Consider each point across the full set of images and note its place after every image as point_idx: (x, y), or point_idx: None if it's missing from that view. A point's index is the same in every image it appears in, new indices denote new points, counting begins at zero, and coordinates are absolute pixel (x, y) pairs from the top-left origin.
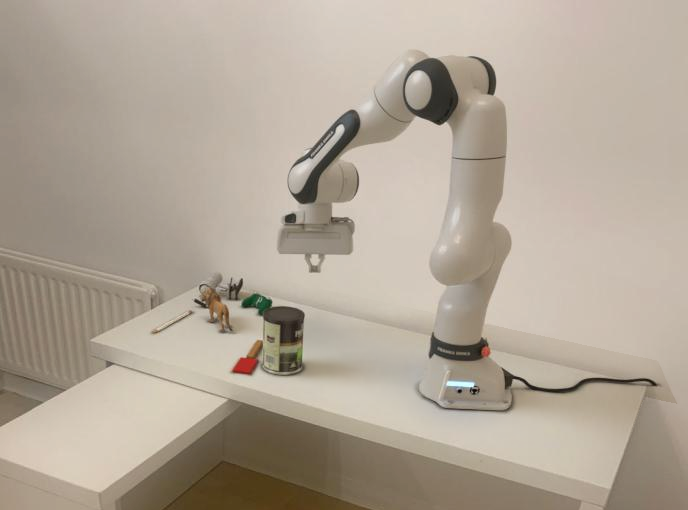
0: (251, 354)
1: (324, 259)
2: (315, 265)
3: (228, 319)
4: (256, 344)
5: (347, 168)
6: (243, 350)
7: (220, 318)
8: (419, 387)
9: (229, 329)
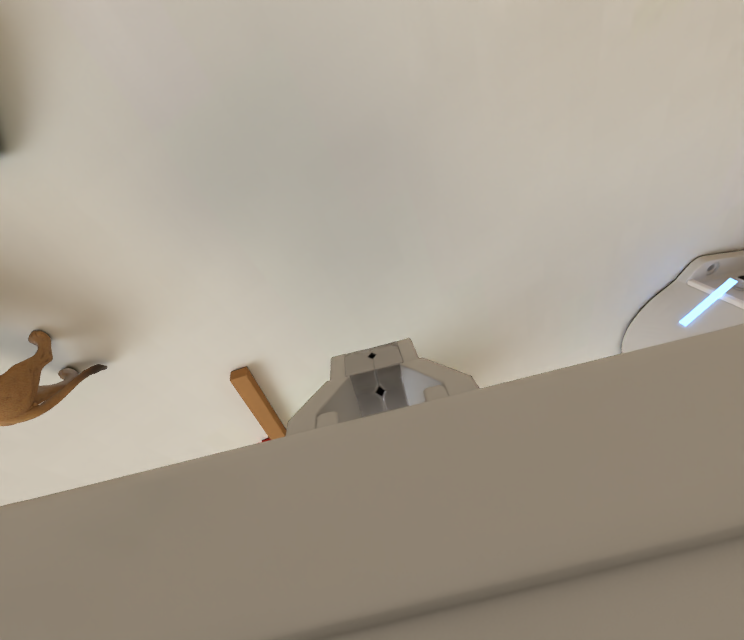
0: (279, 436)
1: (465, 375)
2: (381, 383)
3: (39, 365)
4: (250, 399)
5: None
6: (231, 412)
7: (37, 403)
8: (624, 348)
9: (92, 372)
